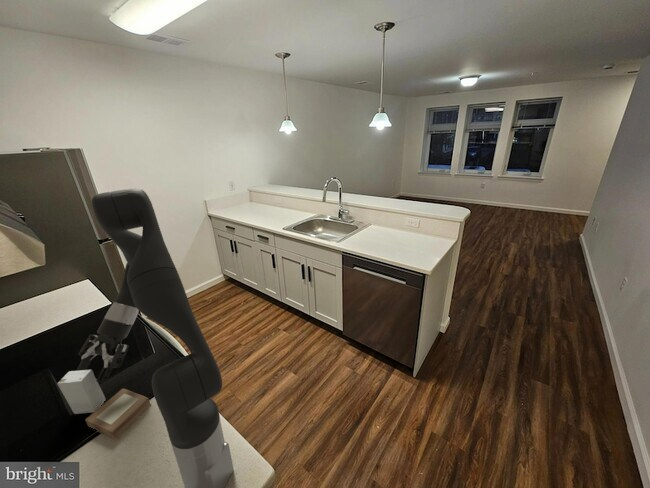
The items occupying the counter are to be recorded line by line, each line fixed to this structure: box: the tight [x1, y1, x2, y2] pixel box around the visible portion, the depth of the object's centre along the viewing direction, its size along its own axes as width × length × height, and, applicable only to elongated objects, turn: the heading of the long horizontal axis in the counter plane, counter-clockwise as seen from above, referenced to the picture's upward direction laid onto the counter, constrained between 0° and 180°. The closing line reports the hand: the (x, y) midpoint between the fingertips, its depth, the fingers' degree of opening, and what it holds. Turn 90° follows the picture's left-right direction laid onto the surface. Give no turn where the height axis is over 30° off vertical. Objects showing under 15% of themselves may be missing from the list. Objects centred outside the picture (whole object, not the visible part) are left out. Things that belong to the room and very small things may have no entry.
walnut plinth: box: [84, 388, 152, 441], centre depth 73 cm, size 10×10×3 cm
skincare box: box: [57, 369, 107, 415], centre depth 74 cm, size 6×4×12 cm
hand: (89, 377), depth 75 cm, fingers open, 8 cm apart
